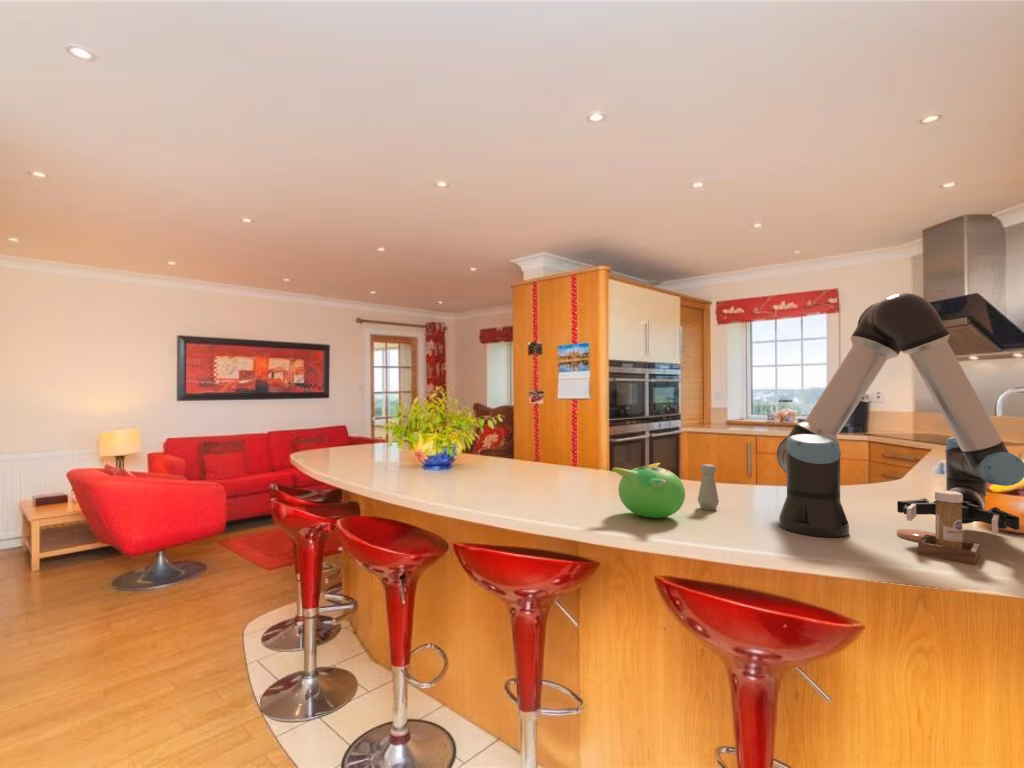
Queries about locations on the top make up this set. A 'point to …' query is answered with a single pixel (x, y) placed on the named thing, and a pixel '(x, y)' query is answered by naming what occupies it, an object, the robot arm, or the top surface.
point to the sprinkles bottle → (949, 519)
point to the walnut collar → (949, 550)
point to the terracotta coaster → (913, 534)
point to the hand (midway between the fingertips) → (949, 520)
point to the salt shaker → (708, 488)
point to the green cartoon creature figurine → (650, 491)
